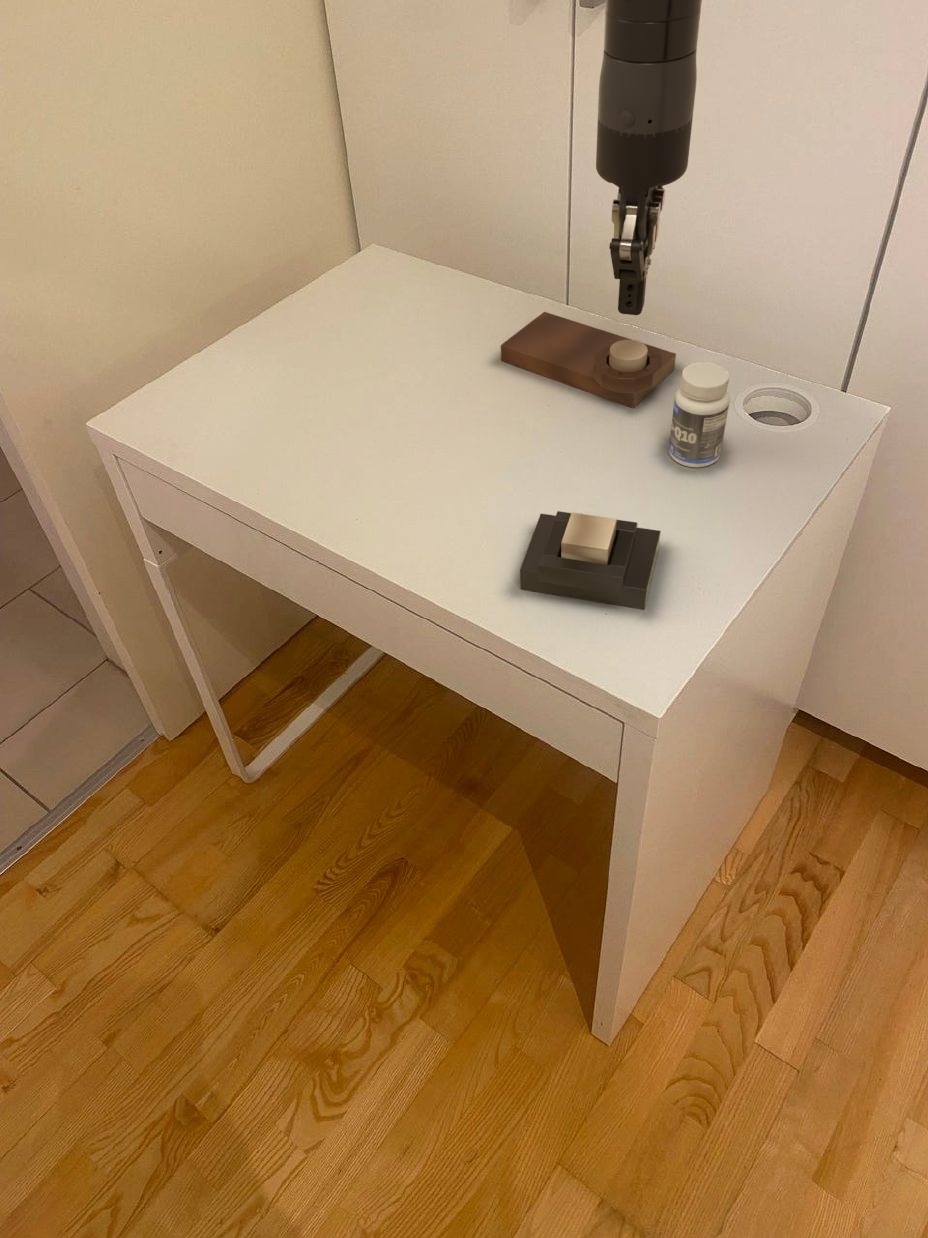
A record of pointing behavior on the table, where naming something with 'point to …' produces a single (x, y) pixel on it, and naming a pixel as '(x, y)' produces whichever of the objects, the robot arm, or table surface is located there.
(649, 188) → the robot arm
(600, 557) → the near key
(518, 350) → the brown flat piece
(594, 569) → the key box
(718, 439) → the pill bottle
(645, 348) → the far key
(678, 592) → the table surface
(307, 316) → the table surface
